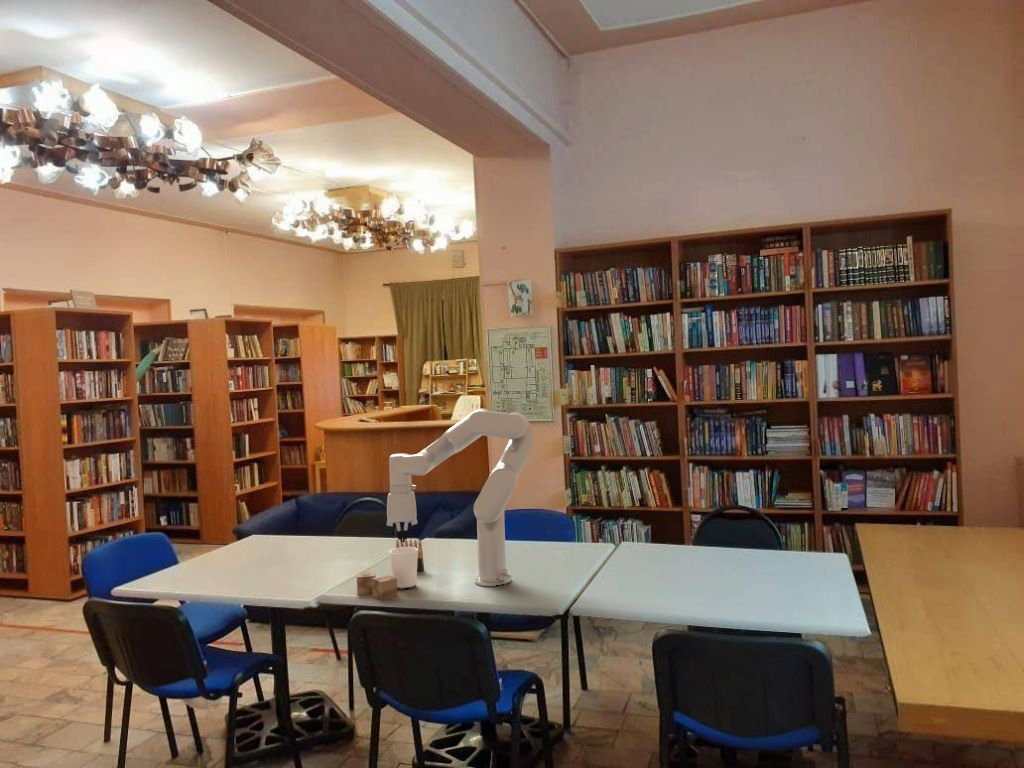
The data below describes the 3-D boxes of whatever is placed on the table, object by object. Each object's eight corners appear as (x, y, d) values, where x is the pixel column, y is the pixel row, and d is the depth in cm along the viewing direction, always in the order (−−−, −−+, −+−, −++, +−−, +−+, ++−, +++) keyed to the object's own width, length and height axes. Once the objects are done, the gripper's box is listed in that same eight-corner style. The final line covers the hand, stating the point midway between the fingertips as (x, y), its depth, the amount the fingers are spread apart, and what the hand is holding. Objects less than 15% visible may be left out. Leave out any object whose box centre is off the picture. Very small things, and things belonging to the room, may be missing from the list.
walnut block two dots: (397, 596, 246) (396, 577, 245) (381, 600, 242) (380, 581, 242) (388, 592, 250) (387, 574, 250) (372, 596, 247) (371, 577, 246)
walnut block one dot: (376, 588, 255) (375, 570, 255) (375, 593, 249) (374, 575, 249) (358, 590, 254) (357, 572, 254) (357, 595, 248) (356, 576, 248)
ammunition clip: (395, 571, 276) (394, 539, 276) (397, 570, 278) (395, 538, 278) (422, 572, 274) (421, 539, 274) (424, 570, 276) (423, 538, 276)
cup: (424, 583, 259) (422, 547, 259) (412, 591, 249) (411, 554, 249) (397, 582, 261) (396, 546, 261) (385, 590, 252) (384, 553, 252)
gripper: (422, 486, 264) (423, 538, 264) (379, 488, 262) (381, 540, 262) (422, 489, 256) (424, 542, 257) (378, 492, 254) (380, 545, 254)
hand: (402, 541), depth 259 cm, fingers closed
